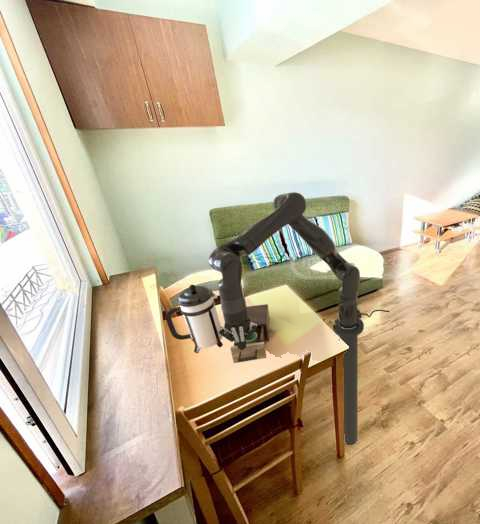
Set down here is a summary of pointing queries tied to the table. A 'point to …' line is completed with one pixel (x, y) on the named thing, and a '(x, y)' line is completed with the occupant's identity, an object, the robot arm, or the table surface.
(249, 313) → the cabinet
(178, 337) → the coffee press
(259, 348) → the drawer
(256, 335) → the pot
